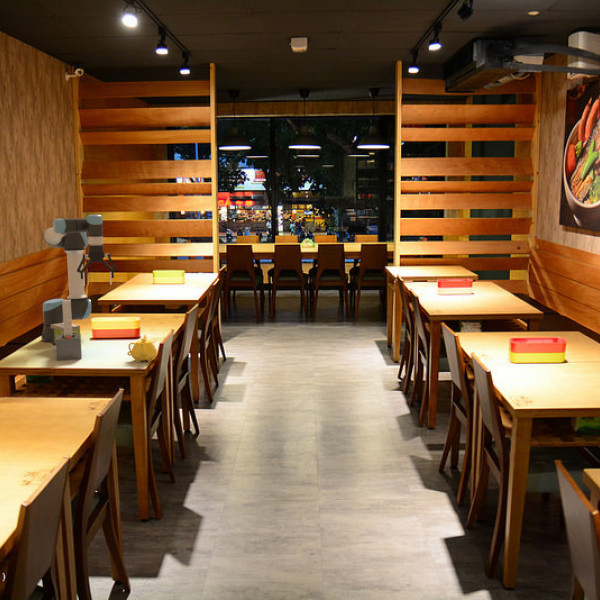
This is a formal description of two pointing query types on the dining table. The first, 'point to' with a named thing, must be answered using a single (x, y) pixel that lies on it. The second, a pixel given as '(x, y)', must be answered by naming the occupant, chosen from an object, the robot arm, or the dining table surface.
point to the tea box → (61, 332)
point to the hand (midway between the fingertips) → (97, 284)
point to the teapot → (143, 350)
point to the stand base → (68, 347)
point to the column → (67, 318)
